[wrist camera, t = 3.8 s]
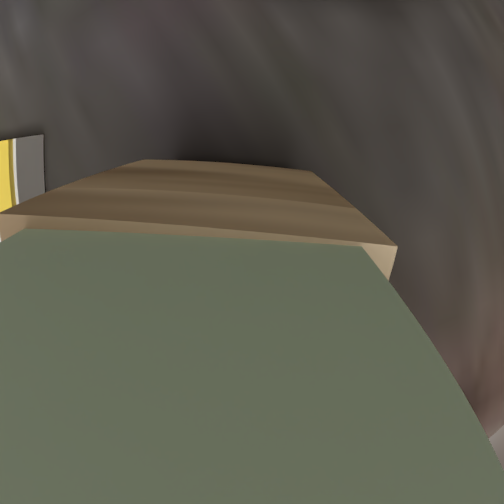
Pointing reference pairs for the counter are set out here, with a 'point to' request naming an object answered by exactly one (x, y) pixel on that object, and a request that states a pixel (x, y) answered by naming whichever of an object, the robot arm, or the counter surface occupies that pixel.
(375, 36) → the counter surface
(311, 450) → the block
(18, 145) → the dock
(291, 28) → the counter surface
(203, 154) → the counter surface
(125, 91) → the counter surface
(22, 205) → the tan wooden bar
